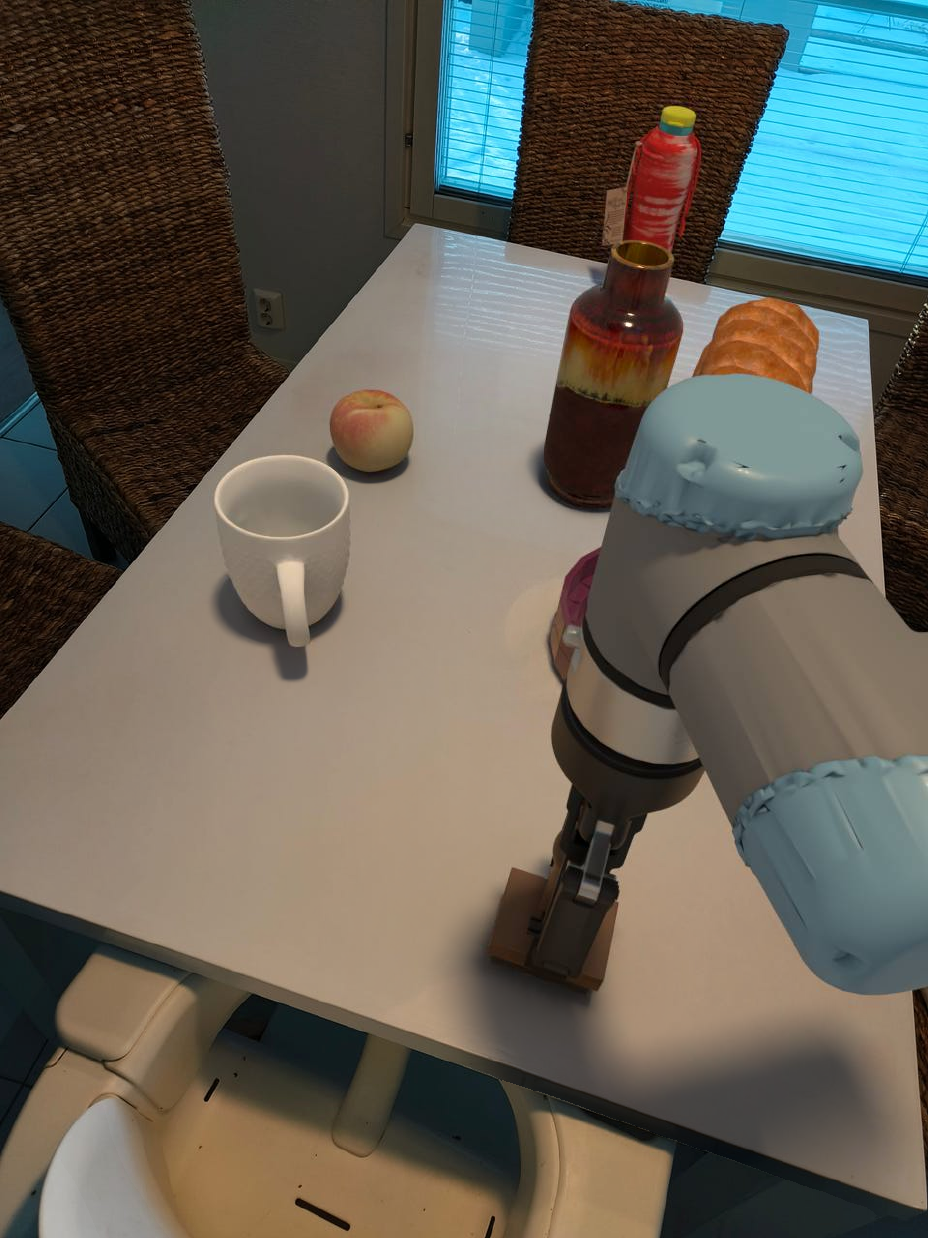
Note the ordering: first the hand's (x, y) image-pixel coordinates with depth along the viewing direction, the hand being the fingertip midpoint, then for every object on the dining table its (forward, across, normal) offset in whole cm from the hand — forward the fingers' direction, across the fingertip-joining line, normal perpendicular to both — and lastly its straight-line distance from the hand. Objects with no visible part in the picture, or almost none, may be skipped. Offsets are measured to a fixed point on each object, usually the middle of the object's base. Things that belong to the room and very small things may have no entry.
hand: (558, 915), depth 56 cm
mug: (+5, -22, -30) cm, 37 cm away
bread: (+5, -67, +7) cm, 68 cm away
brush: (+5, 0, 0) cm, 5 cm away
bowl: (+5, -30, +3) cm, 30 cm away
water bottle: (+5, -102, -12) cm, 103 cm away
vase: (+5, -53, -8) cm, 54 cm away
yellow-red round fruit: (+5, -47, -31) cm, 57 cm away
